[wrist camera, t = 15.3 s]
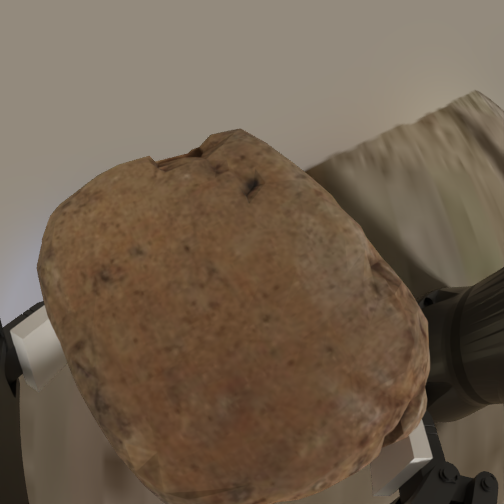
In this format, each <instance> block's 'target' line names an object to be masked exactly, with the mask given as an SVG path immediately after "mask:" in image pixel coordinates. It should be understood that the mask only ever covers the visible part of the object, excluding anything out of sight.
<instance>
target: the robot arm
mask: <svg viewBox="0 0 504 504" xmlns="http://www.w3.org/2000/svg"><path fill="white" fill-rule="evenodd" d="M416 302H417V304H418V305H419V307H420V309H421V310H422V312H423V314H424V316H425V317H426V319H427V321H428V337H429V353H430V372H429V375H428V378H427V382H426V385H425V389H426V395H427V406H426V412H425V414H424V416H423V417H422V419H421V421H420V423H419V425H418V427H417V428H416V429H415V430H414V431H413V432H412V433H410V434H409V435H408V436H407V437H406V438H405V439H402V440H400V441H398V442H395V443H393V444H390V445H388V446H385V447H383V448H381V451H380V454H379V456H378V457H376V458H375V459H374V460H373V461H372V462H370V467H371V478H372V490H373V496H390V495H392V494H393V493H394V492H395V491H397V490H398V489H399V493H400V496H399V497H398V498H397V499H395V500H394V501H393V502H391V503H390V504H497V496H498V482H497V480H496V478H495V477H494V475H493V474H491V473H489V472H485V471H483V472H480V473H479V474H478V475H477V476H476V477H475V478H469V477H465V476H461V475H460V473H459V471H458V469H457V468H456V467H455V466H454V465H453V464H451V463H449V462H446V461H445V458H444V454H443V451H442V447H441V444H440V441H439V437H438V435H437V431H436V428H435V427H434V426H435V425H434V422H451V421H456V420H459V419H462V418H464V417H466V416H468V415H470V414H472V413H474V412H476V411H478V410H480V409H482V408H483V407H485V406H487V405H489V404H502V403H503V404H504V267H503V268H501V269H500V270H498V271H497V272H495V273H493V274H492V275H490V276H488V277H487V278H485V279H483V280H482V281H480V282H479V283H477V284H475V285H474V286H469V287H452V288H441V289H437V290H434V291H432V292H430V293H428V294H426V295H424V296H423V297H421V298H419V299H418V300H416ZM66 364H67V360H66V358H65V355H64V352H63V350H62V347H61V344H60V342H59V340H58V338H57V336H56V333H55V331H54V329H53V327H52V325H51V323H50V320H49V318H48V316H47V312H46V308H45V304H44V301H42V302H39V303H37V304H35V305H34V306H32V307H31V308H30V309H29V310H27V311H25V312H24V313H23V315H22V314H21V315H20V316H18V317H17V318H15V319H14V320H13V321H11V322H10V323H8V324H7V325H6V326H4V327H3V328H2V324H1V320H0V504H29V501H28V495H27V490H26V483H25V477H24V469H23V461H22V450H21V437H20V410H19V396H20V382H19V378H18V377H19V376H21V375H22V374H23V375H24V378H25V381H26V384H28V385H29V386H31V387H32V388H34V389H35V390H37V391H38V392H40V391H41V389H42V388H43V387H44V386H45V385H46V384H47V383H48V382H49V381H50V380H51V379H52V378H53V377H54V376H55V375H56V374H57V373H58V372H59V371H60V370H61V369H62V368H63V367H64V366H65V365H66Z"/></svg>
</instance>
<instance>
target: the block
mask: <svg viewBox="0 0 504 504" xmlns="http://www.w3.org/2000/svg"><path fill="white" fill-rule="evenodd" d="M37 272H38V277H39V282H40V286H41V291H42V295H43V300H44V304H45V308H46V312H47V316H48V318H49V320H50V323H51V325H52V327H53V329H54V331H55V333H56V336H57V338H58V340H59V342H60V344H61V347H62V350H63V352H64V355H65V358H66V360H67V363H68V366H69V368H70V371H71V373H72V375H73V378H74V380H75V383H76V385H77V387H78V390H79V392H80V393H81V395H82V397H83V399H84V401H85V403H86V404H87V406H88V408H89V410H90V411H91V413H92V415H93V417H94V418H95V420H96V422H97V423H98V425H99V427H100V428H101V430H102V431H103V433H104V435H105V436H106V438H107V439H108V441H109V442H110V444H111V445H112V447H113V448H114V450H115V451H116V453H117V454H118V455H119V456H120V458H121V459H122V460H123V461H124V463H125V464H126V465H127V466H128V467H129V469H130V470H131V471H132V472H133V473H134V474H135V476H136V477H137V478H138V479H139V480H140V481H141V482H142V483H143V485H144V486H146V487H147V488H148V489H149V490H150V491H151V492H152V493H153V494H154V495H156V496H157V497H158V498H159V499H160V500H161V501H163V502H164V503H165V504H274V503H276V502H283V501H291V500H298V499H301V498H304V497H307V496H310V495H313V494H316V493H318V492H321V491H323V490H325V489H327V488H329V487H331V486H333V485H334V484H336V483H338V482H340V481H342V480H344V479H345V478H347V477H349V476H351V475H353V474H355V473H356V472H358V471H359V470H361V469H362V468H364V467H365V466H366V465H368V464H369V463H370V462H372V461H373V460H374V459H375V458H376V457H378V456H379V454H380V451H381V448H383V447H385V446H388V445H390V444H393V443H395V442H398V441H400V440H402V439H405V438H406V437H407V436H408V435H409V434H410V433H412V432H413V431H414V430H415V429H416V428H417V427H418V425H419V423H420V421H421V419H422V417H423V416H424V414H425V412H426V406H427V395H426V389H425V385H426V382H427V378H428V375H429V372H430V353H429V337H428V321H427V319H426V317H425V316H424V314H423V312H422V310H421V309H420V307H419V305H418V304H417V302H416V300H415V298H414V297H413V295H412V293H411V292H410V290H409V289H408V288H407V286H406V285H405V284H404V283H403V281H402V280H401V279H400V278H399V276H398V275H397V274H396V273H395V271H394V270H393V269H392V268H391V267H390V266H389V265H388V264H387V262H386V261H385V260H384V259H383V258H382V257H381V256H380V254H379V253H378V252H377V250H376V249H375V248H374V246H373V245H372V244H371V242H370V241H369V240H368V239H367V237H366V236H365V234H364V232H363V230H362V228H361V226H360V225H359V224H358V223H357V222H356V221H355V220H354V219H353V218H352V217H351V216H349V215H348V214H347V213H346V212H345V211H344V210H343V209H342V208H341V207H340V206H339V204H338V203H337V202H336V200H335V199H334V197H333V196H332V195H331V194H330V193H329V192H327V191H326V190H325V189H324V188H323V187H322V186H321V185H320V184H319V183H317V182H316V181H315V180H314V179H313V178H311V177H310V176H309V175H308V174H306V173H305V172H304V171H303V170H301V169H300V168H299V167H298V166H296V165H295V164H294V163H293V162H291V161H290V160H289V159H287V158H286V157H284V156H283V155H282V154H280V153H279V152H278V151H276V150H275V149H273V148H272V147H271V146H269V145H268V144H267V143H265V142H264V141H262V140H260V139H258V138H256V137H255V136H253V135H251V134H249V133H248V132H246V131H244V130H242V129H236V130H231V131H226V132H221V133H217V134H212V135H210V136H209V137H208V138H207V139H206V140H205V141H204V142H203V143H202V145H201V146H200V147H198V148H196V149H193V150H191V151H190V152H189V153H188V154H184V155H180V156H176V157H172V158H168V159H164V160H160V161H156V162H155V161H154V160H153V159H152V158H151V157H150V156H147V157H143V158H140V159H136V160H133V161H129V162H126V163H123V164H119V165H117V166H115V167H113V168H111V169H109V170H108V171H105V172H103V173H101V174H100V175H98V176H96V177H95V178H94V179H92V180H91V181H90V182H88V183H87V184H86V185H85V186H83V187H82V188H81V189H79V190H78V191H77V192H76V193H74V194H73V195H71V196H70V197H69V198H68V199H66V200H65V201H64V202H62V203H61V204H60V205H59V206H58V207H57V208H56V209H55V211H54V212H53V213H52V215H51V216H50V218H49V221H48V223H47V226H46V229H45V232H44V235H43V238H42V245H41V249H40V254H39V259H38V263H37Z"/></svg>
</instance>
